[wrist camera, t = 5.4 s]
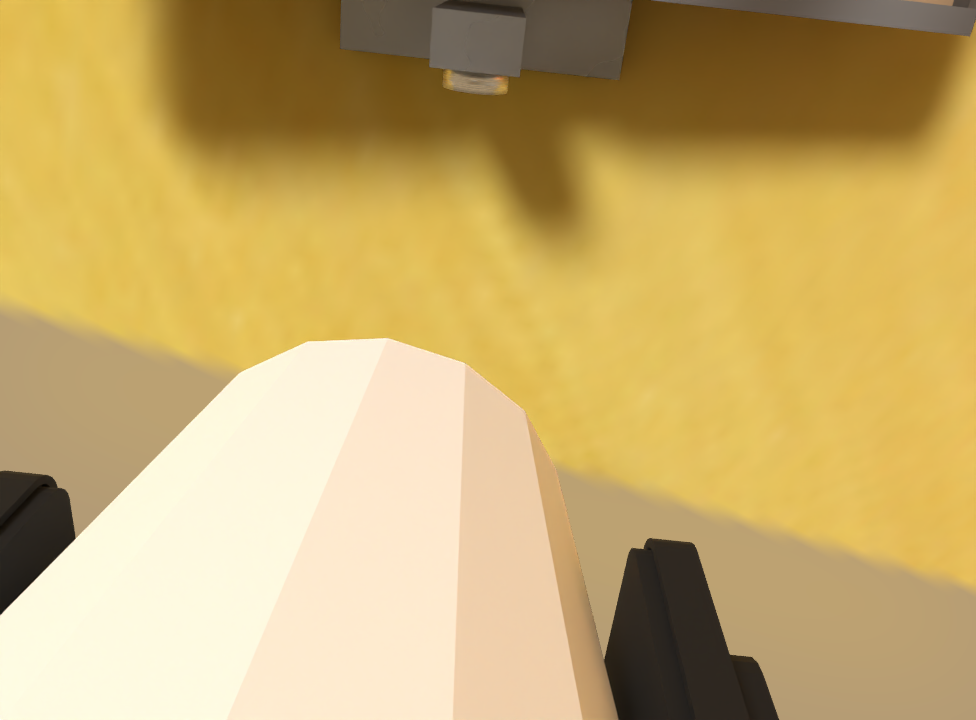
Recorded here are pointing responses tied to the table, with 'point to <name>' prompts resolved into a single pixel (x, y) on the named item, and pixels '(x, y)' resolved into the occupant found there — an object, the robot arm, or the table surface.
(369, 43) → the pivot stand
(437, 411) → the cup of milk
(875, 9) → the balance beam board
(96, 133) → the table surface
